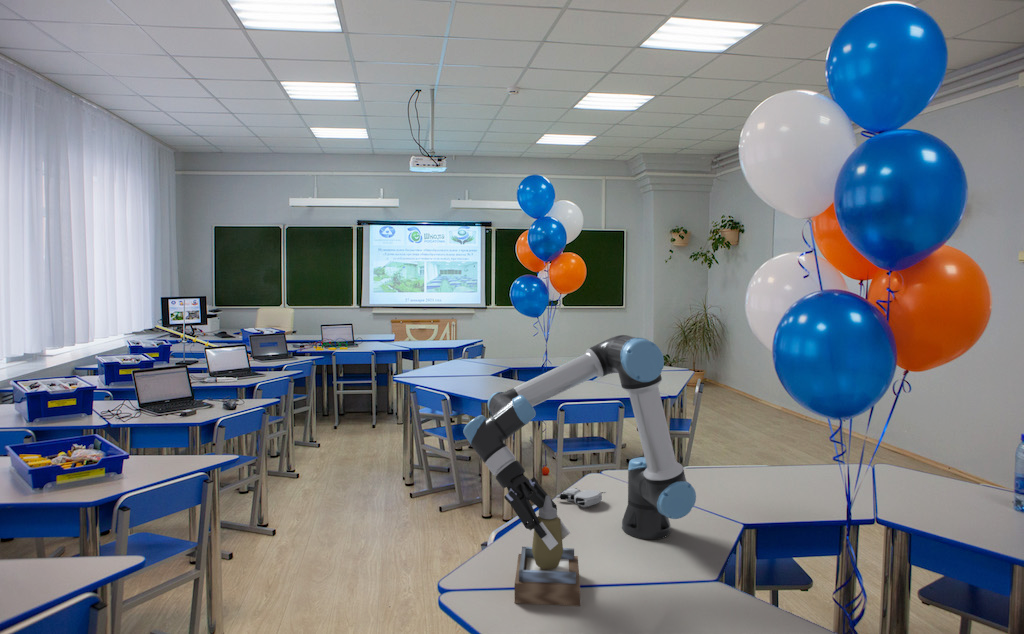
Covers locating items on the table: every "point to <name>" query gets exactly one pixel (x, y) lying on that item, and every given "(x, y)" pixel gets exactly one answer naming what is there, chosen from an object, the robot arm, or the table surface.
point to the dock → (547, 580)
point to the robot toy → (581, 496)
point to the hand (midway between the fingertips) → (560, 541)
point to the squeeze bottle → (553, 524)
